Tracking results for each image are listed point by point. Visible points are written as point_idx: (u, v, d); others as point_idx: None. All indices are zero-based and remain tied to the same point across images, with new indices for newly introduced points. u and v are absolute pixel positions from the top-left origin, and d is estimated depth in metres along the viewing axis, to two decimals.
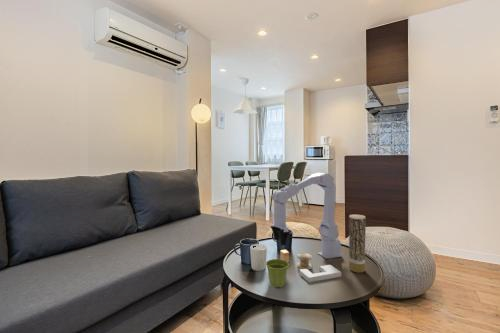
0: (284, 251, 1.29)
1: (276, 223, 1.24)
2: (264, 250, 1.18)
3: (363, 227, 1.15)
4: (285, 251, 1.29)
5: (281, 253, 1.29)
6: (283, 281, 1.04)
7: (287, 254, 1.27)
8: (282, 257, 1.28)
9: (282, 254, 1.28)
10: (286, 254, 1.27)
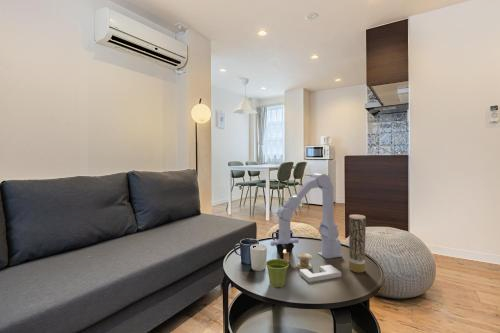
0: (284, 251, 1.29)
1: None
2: (264, 250, 1.18)
3: (363, 227, 1.15)
4: (285, 251, 1.29)
5: None
6: (283, 281, 1.04)
7: (287, 254, 1.27)
8: None
9: None
10: (286, 254, 1.27)
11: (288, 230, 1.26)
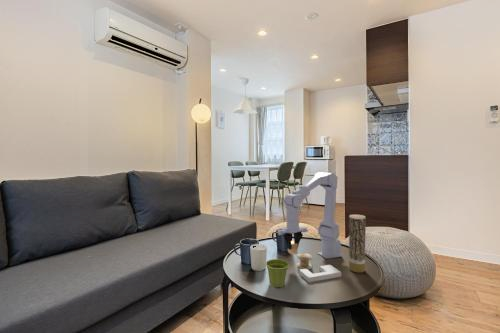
0: (292, 242, 1.20)
1: None
2: (264, 250, 1.18)
3: (363, 227, 1.15)
4: (293, 242, 1.20)
5: None
6: (283, 281, 1.04)
7: (295, 245, 1.19)
8: None
9: None
10: (294, 245, 1.19)
11: (298, 218, 1.18)
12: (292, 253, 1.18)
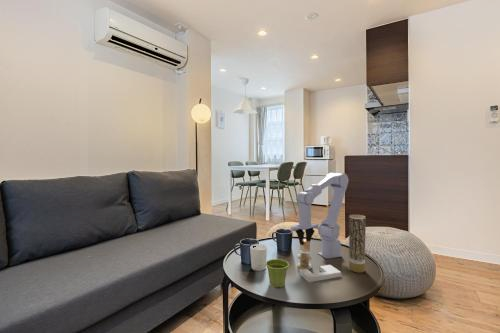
0: (304, 240, 1.26)
1: None
2: (264, 250, 1.18)
3: (363, 227, 1.15)
4: (305, 240, 1.26)
5: None
6: (283, 281, 1.04)
7: (308, 243, 1.24)
8: (302, 246, 1.25)
9: None
10: (307, 243, 1.24)
11: (310, 214, 1.24)
12: (305, 250, 1.24)
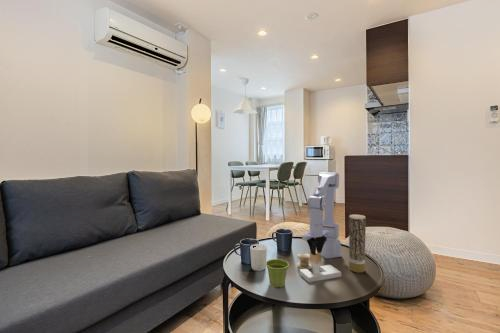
0: None
1: None
2: (264, 250, 1.18)
3: (363, 227, 1.15)
4: (316, 251, 1.14)
5: None
6: (283, 281, 1.04)
7: (320, 254, 1.13)
8: (314, 258, 1.13)
9: None
10: (319, 254, 1.13)
11: (322, 220, 1.13)
12: (317, 263, 1.12)
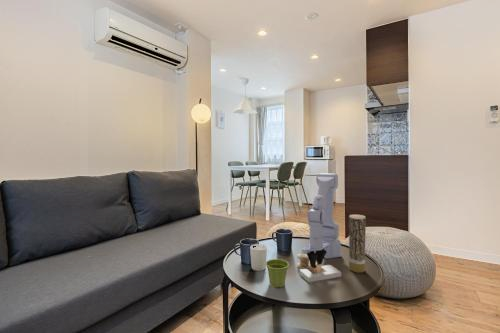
0: None
1: None
2: (264, 250, 1.18)
3: (363, 227, 1.15)
4: (316, 263, 1.15)
5: None
6: (283, 281, 1.04)
7: (319, 266, 1.13)
8: (314, 270, 1.14)
9: None
10: (318, 266, 1.13)
11: (322, 234, 1.13)
12: None
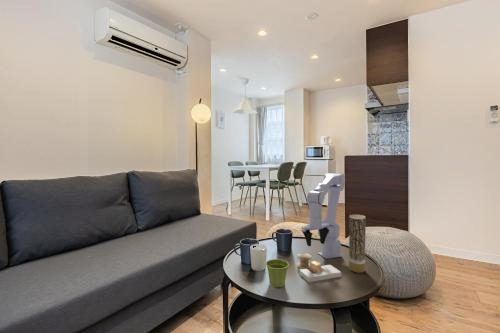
0: (315, 263, 1.14)
1: None
2: (264, 250, 1.18)
3: (363, 227, 1.15)
4: (316, 263, 1.15)
5: (312, 265, 1.14)
6: (283, 281, 1.04)
7: (319, 266, 1.13)
8: (314, 270, 1.14)
9: (314, 266, 1.13)
10: (318, 266, 1.13)
11: (321, 214, 1.21)
12: None
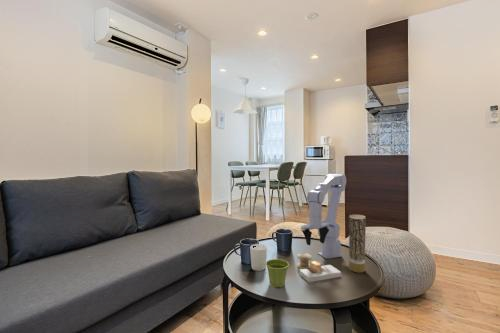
0: (315, 263, 1.14)
1: None
2: (264, 250, 1.18)
3: (363, 227, 1.15)
4: (316, 263, 1.15)
5: (312, 265, 1.14)
6: (283, 281, 1.04)
7: (319, 266, 1.13)
8: (314, 270, 1.14)
9: (314, 266, 1.13)
10: (318, 266, 1.13)
11: (321, 213, 1.22)
12: None
